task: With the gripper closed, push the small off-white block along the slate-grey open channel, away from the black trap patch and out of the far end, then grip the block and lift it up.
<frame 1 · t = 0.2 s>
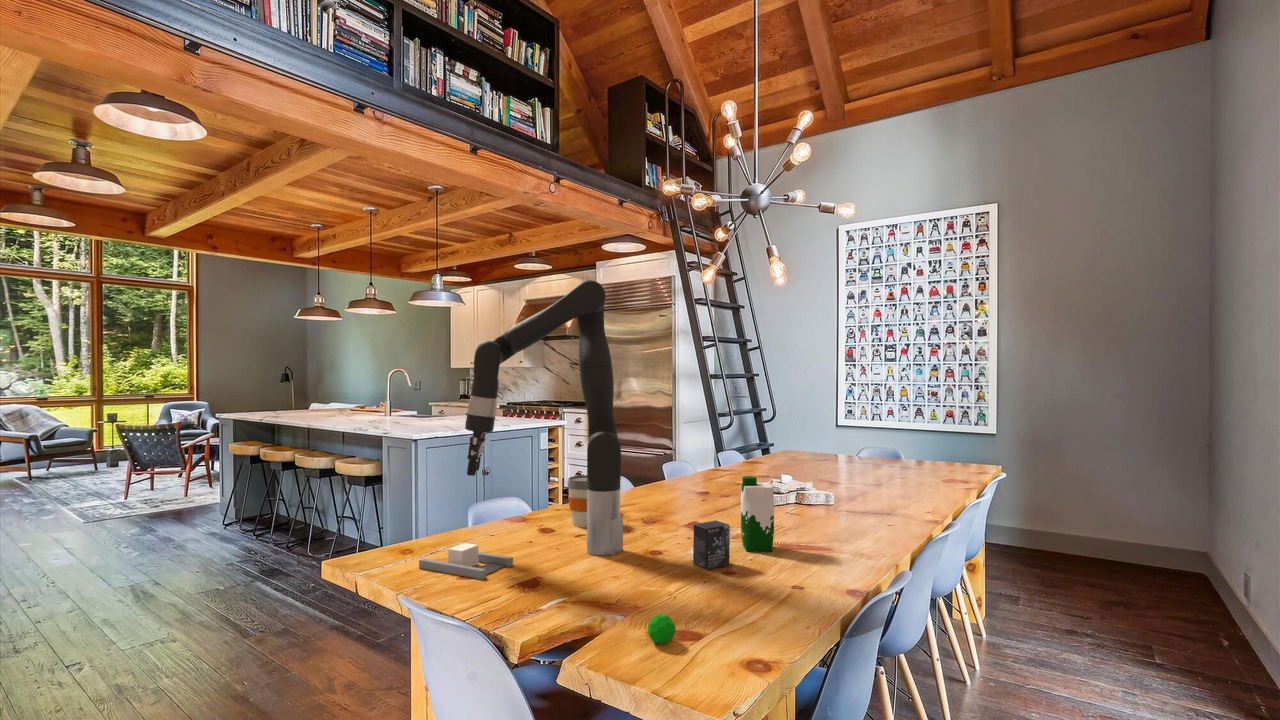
hand: (472, 472, 163), 22 cm above the table, tool pointing down, fingers open, 8 cm apart
polyhedron: (661, 643, 109), on the table
box: (711, 566, 154), on the table
block: (463, 566, 153), on the table
channel: (466, 566, 152), on the table
milk carton: (757, 549, 169), on the table
reusable coffee cup: (586, 524, 197), on the table
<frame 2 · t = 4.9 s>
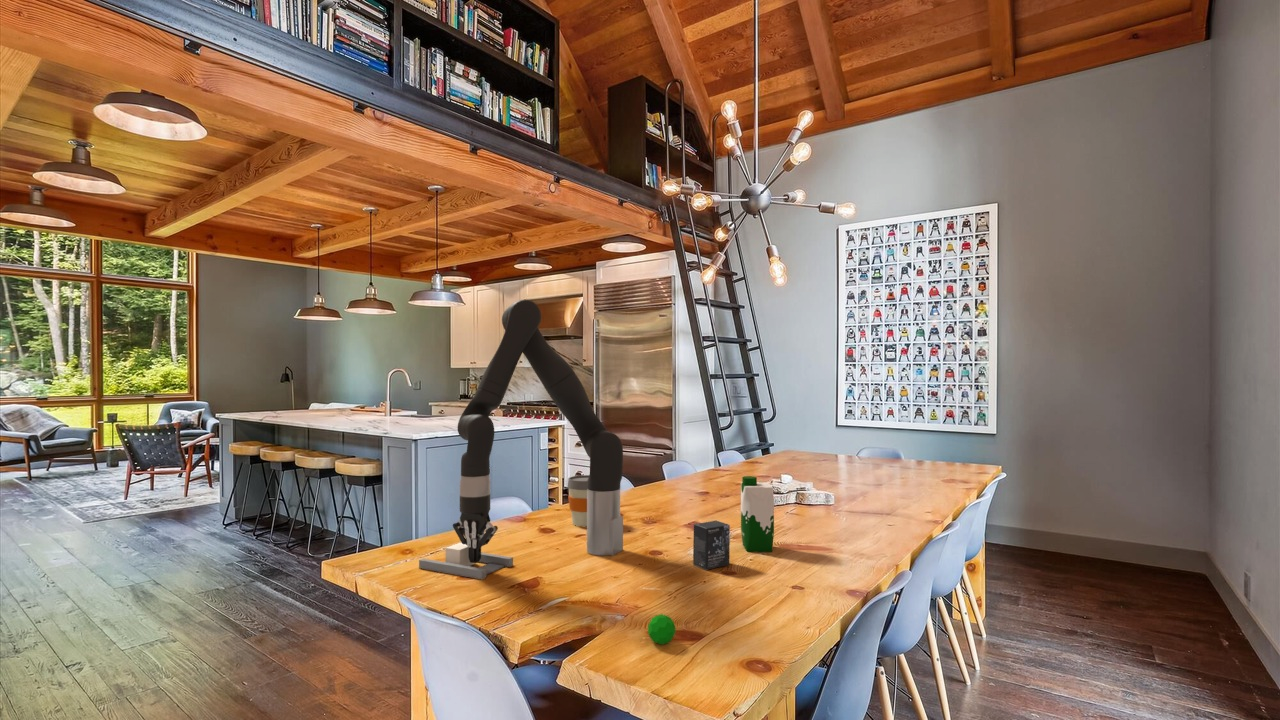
hand: (474, 561, 151), 2 cm above the table, tool pointing down, fingers closed
block: (460, 565, 153), on the table, touching gripper
everything else where it was.
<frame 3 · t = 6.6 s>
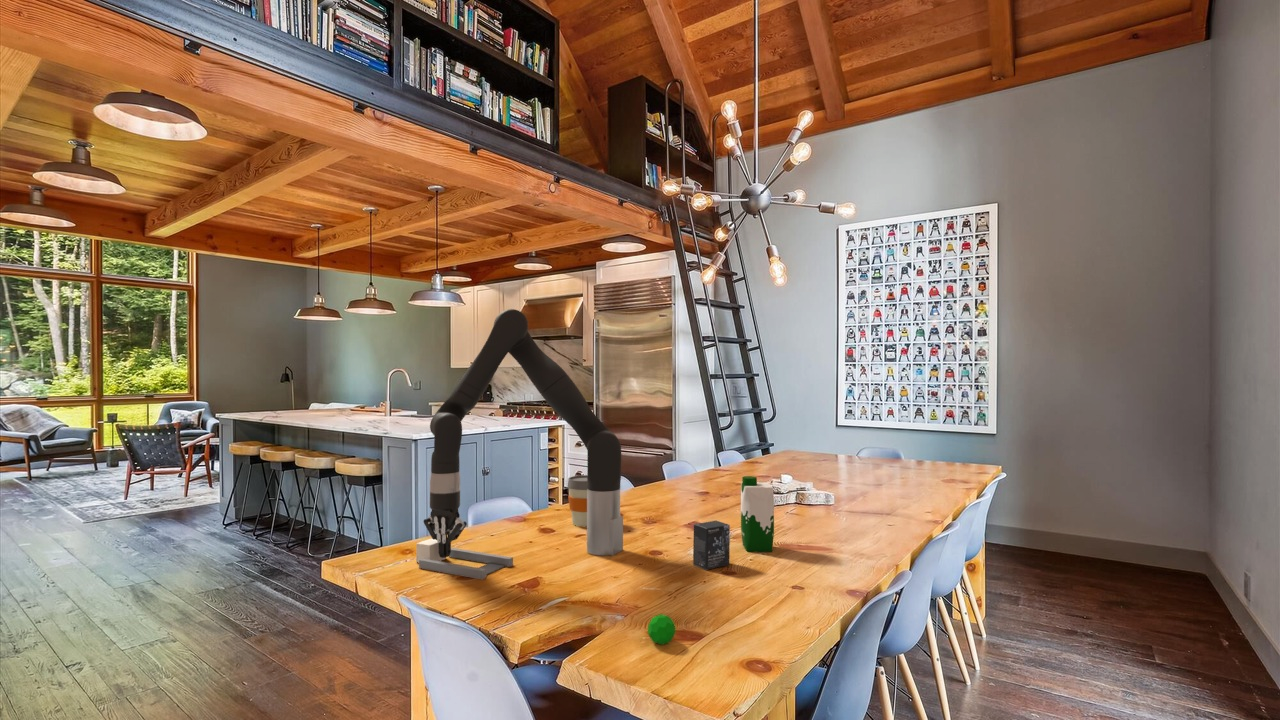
hand: (444, 556, 155), 2 cm above the table, tool pointing down, fingers closed
block: (431, 560, 157), on the table, touching gripper
everything else where it was.
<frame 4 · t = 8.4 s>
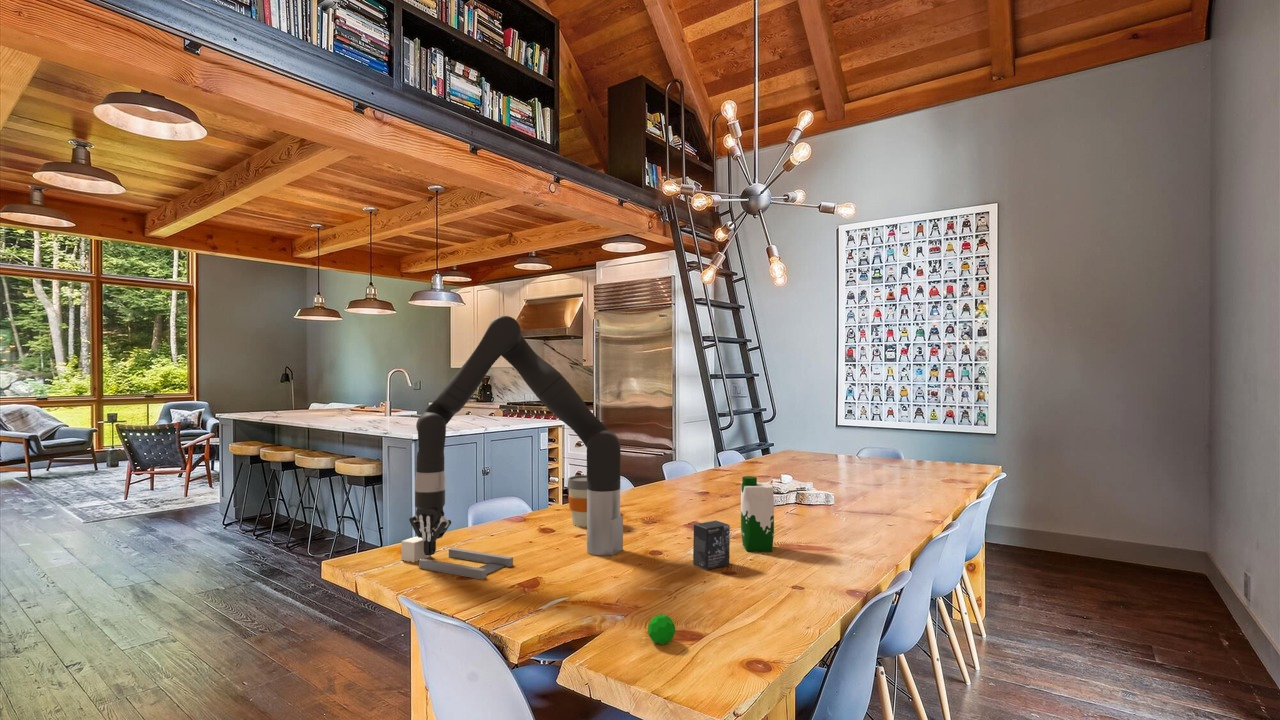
hand: (429, 554, 158), 2 cm above the table, tool pointing down, fingers closed
block: (416, 558, 160), on the table, touching gripper
everything else where it was.
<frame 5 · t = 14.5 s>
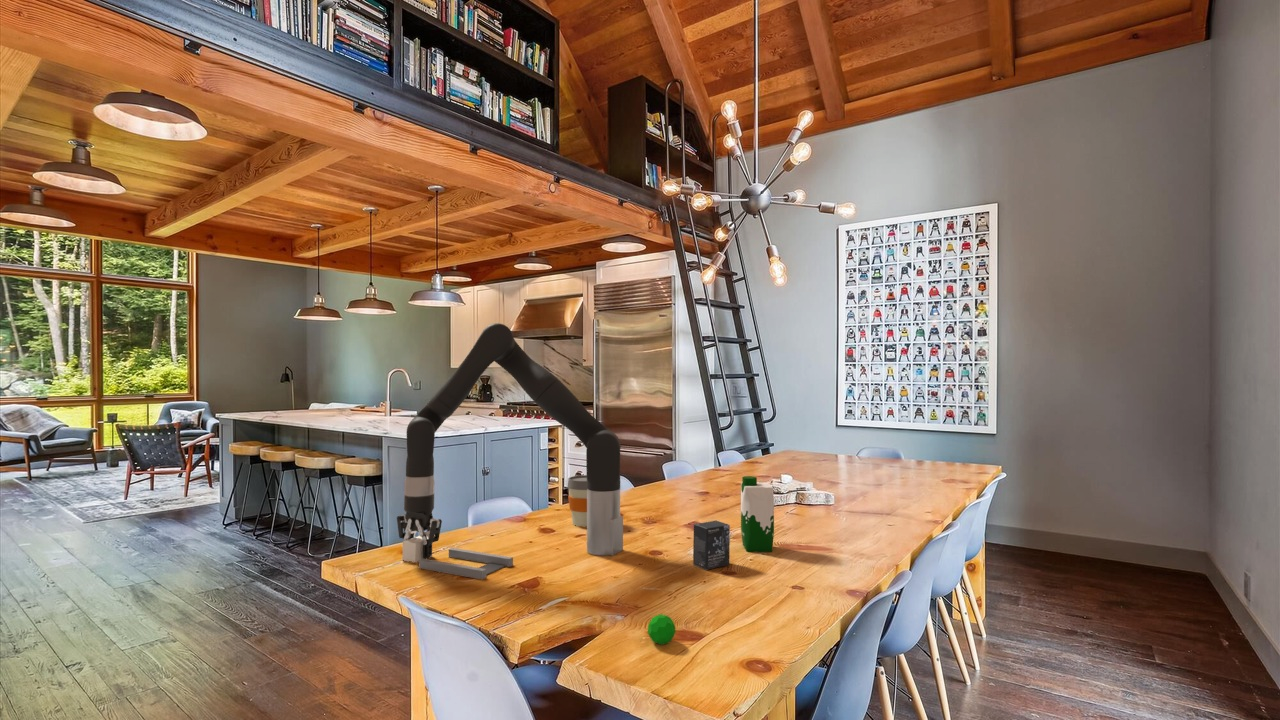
hand: (418, 556, 159), 1 cm above the table, tool pointing down, fingers open, 5 cm apart
nothing on the table moved.
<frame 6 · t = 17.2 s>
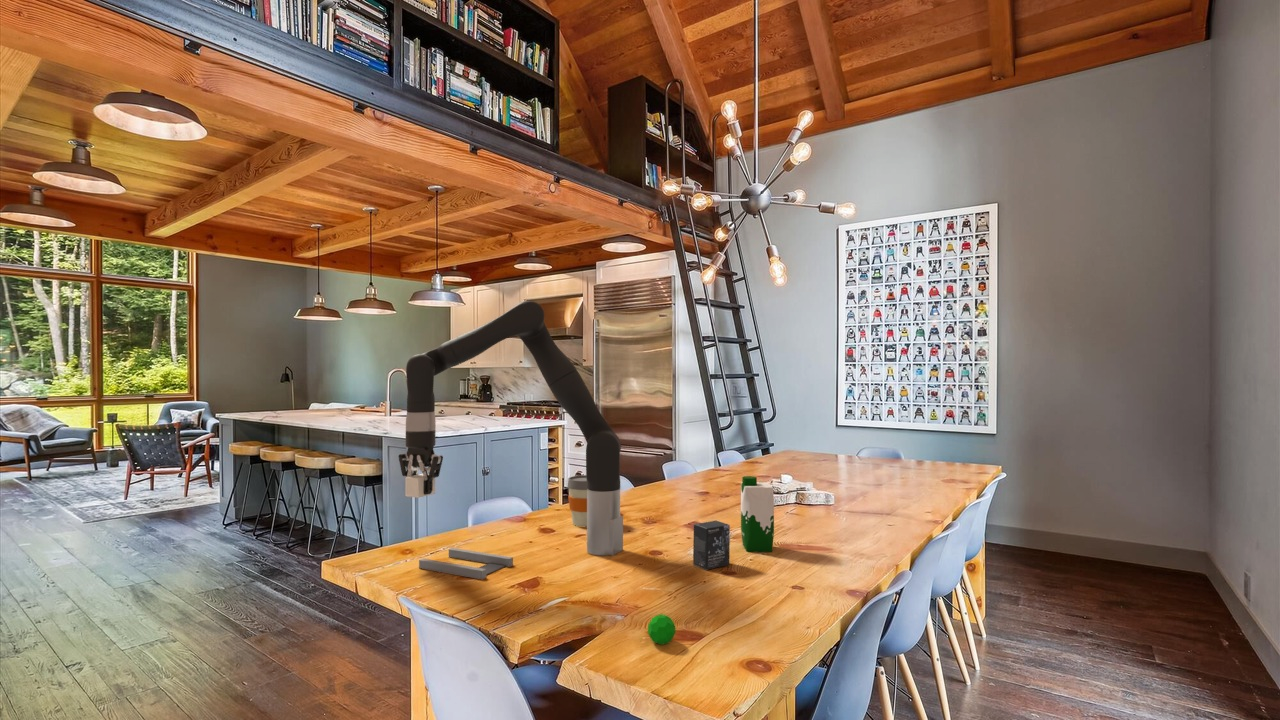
hand: (420, 492, 160), 17 cm above the table, tool pointing down, fingers closed on block, 4 cm apart
block: (420, 494, 160), point 17 cm above the table, touching gripper
everything else where it was.
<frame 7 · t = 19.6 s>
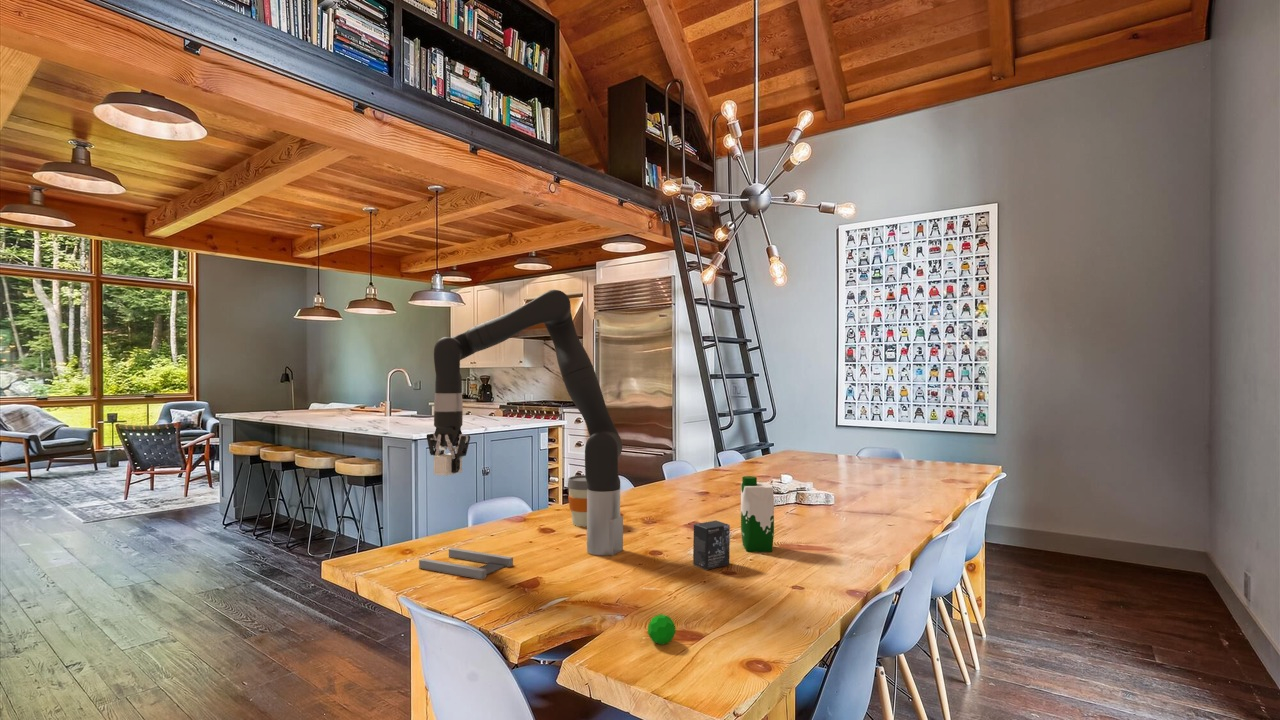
hand: (447, 471, 165), 22 cm above the table, tool pointing down, fingers closed on block, 4 cm apart
block: (448, 473, 165), point 22 cm above the table, touching gripper
everything else where it was.
at the end: the gripper is holding block; block point 21.7 cm above the table; block moved 25.8 cm from its start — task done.
